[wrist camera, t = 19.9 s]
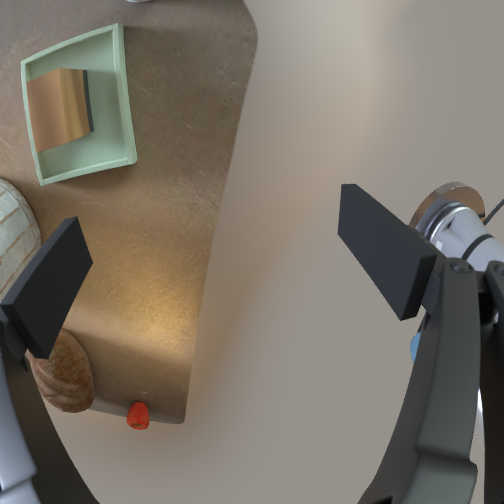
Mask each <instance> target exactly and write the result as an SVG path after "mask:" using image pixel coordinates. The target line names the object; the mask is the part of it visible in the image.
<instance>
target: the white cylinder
mask: <svg viewBox="0 0 504 504" xmlns="http://www.w3.org/2000/svg"><path fill="white" fill-rule="evenodd" d="M127 1H130V2H146V1H150V0H127Z"/></svg>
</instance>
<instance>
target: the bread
mask: <svg viewBox="0 0 504 504" xmlns="http://www.w3.org/2000/svg"><path fill="white" fill-rule="evenodd" d="M30 366H31V369H32V372H33V375H34V378H35V381H36V383H37V386H38V389H39V392H40V393H41V394H42V396H43V397H44V398H45V399H46V400H47V401H48V402H50V403H51V404H52V405H53V406H55V407H56V408H58V409H60V410H61V411H63V412H71V413H78V412H81V411H84V410H86V409H88V408H89V407H90V406H91V404H92V403H93V400H94V397H95V385H94V379H93V375H92V370H91V366H90V362H89V359H88V357H87V354H86V352H85V351H84V349H83V347H82V346H81V345H80V344H79V343H78V342H77V340H76V339H75V338H74V337H73V336H72V335H71V334H70V333H69V332H68V331H66V330H64V329H62V328H61V330H60V332H59V335H58V337H57V340H56V342H55V344H54V347H53V349H52V352H51V355H50V357H49V359H35V358H34V356H33V355H32V354H31V352H30Z"/></svg>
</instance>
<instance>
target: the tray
mask: <svg viewBox="0 0 504 504" xmlns="http://www.w3.org/2000/svg"><path fill="white" fill-rule="evenodd" d="M58 68H69V69H82V70H87V78H88V88H89V97H90V105H91V113H92V120H93V126H94V132H91V133H89V134H87V135H85V136H82V137H80V138H78V139H76V140H74V141H71V142H69V143H66V144H63V145H60V146H56V147H53V148H50V149H47V150H44V151H41V152H38V153H36V149H35V144H34V139H33V134H32V128H31V121H30V115H29V107H28V99H27V89H26V82H28V81H30V80H32V79H35V78H37V77H39V76H41V75H44V74H46V73H48V72H51V71H53V70H55V69H58ZM21 75H22V88H23V97H24V106H25V113H26V120H27V126H28V132H29V138H30V143H31V148H32V153H33V157H34V162H35V166H36V170H37V174H38V178H39V182H40V186H43V185H46V184H50V183H54V182H57V181H61V180H65V179H68V178H72V177H76V176H80V175H84V174H89V173H93V172H97V171H102V170H106V169H111V168H116V167H121V166H126V165H131V164H134V163H135V162H136V161H137V160H138V157H137V152H136V146H135V139H134V133H133V126H132V119H131V111H130V103H129V95H128V86H127V76H126V65H125V52H124V35H123V26H122V25H120V24H119V23H117V24H113V25H110V26H106V27H103V28H100V29H97V30H94V31H91V32H88V33H85V34H82V35H80V36H77V37H74V38H72V39H69V40H67V41H64V42H62V43H59V44H57V45H55V46H52V47H50V48H48V49H46V50H43V51H41V52H39V53H37V54H35V55H33V56H31V57H29V58H27V59H25V60H23V61H21Z"/></svg>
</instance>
